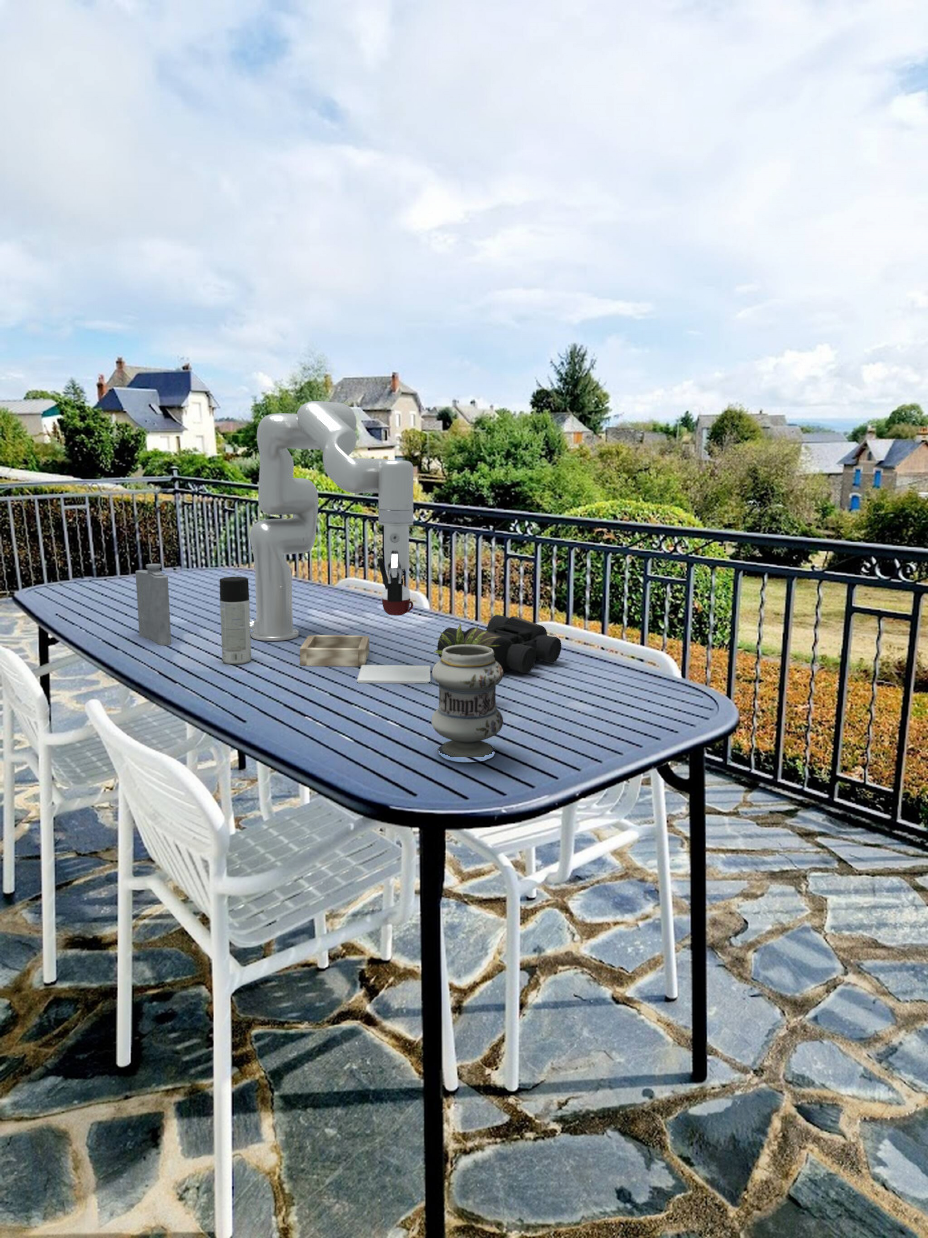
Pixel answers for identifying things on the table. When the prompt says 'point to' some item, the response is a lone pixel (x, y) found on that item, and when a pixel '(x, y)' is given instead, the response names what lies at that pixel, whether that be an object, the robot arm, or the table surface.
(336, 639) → the holder
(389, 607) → the cocoa
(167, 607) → the hip flask
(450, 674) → the apothecary jar
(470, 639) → the house plant
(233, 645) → the spray can
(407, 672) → the mat
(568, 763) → the table surface
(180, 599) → the table surface
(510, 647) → the binoculars
